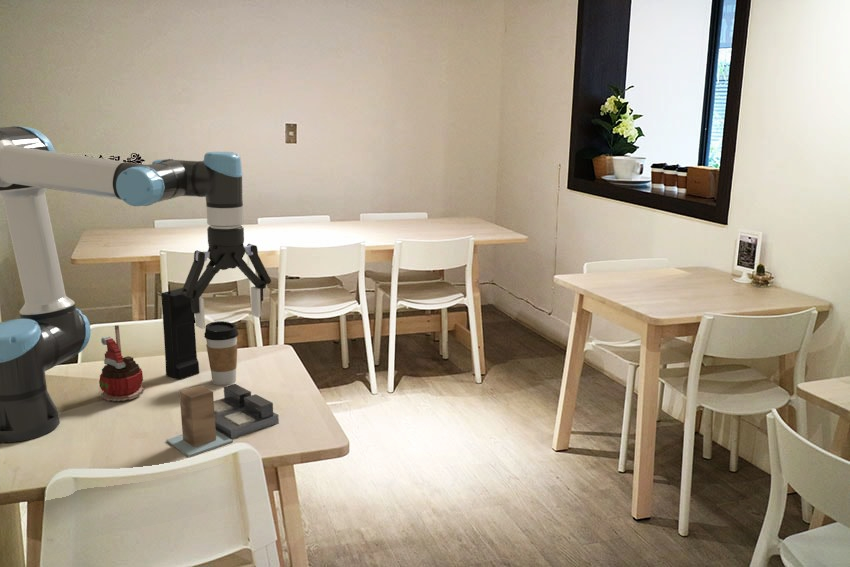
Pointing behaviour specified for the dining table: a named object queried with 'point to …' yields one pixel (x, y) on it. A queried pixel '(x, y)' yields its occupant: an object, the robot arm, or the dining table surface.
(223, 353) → the coffee cup
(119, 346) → the cake
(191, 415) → the walnut block
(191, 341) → the portable radio
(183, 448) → the mat
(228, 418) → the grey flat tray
